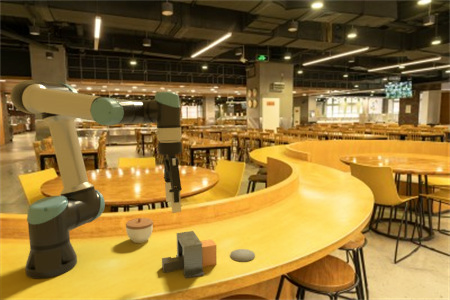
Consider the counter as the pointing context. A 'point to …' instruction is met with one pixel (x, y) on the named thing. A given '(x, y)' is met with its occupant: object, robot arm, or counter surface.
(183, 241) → the housing
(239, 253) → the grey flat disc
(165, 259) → the plug
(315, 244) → the counter surface
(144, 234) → the lidded jar
